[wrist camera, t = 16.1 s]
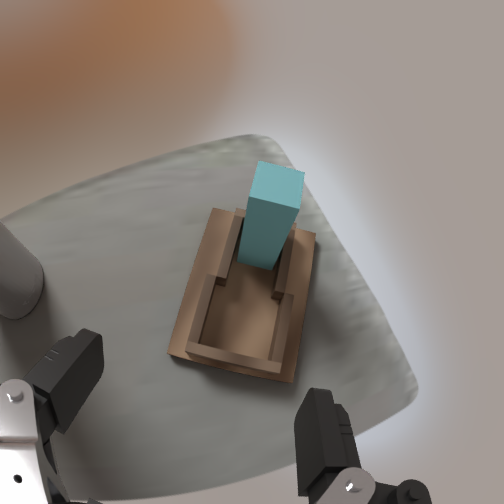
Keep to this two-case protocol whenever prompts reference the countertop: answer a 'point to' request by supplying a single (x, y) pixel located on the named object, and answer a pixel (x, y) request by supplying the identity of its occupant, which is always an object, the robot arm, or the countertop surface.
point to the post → (269, 214)
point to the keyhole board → (244, 303)
